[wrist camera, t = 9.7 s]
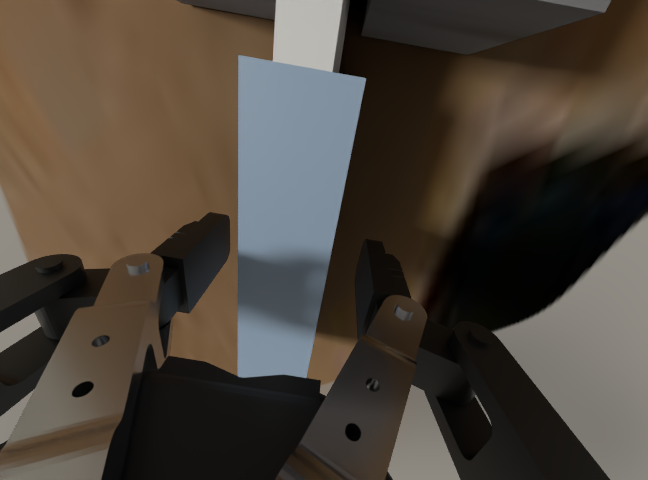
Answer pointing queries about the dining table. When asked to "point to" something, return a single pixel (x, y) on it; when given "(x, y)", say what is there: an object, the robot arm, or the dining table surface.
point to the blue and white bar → (291, 182)
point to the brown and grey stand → (446, 19)
